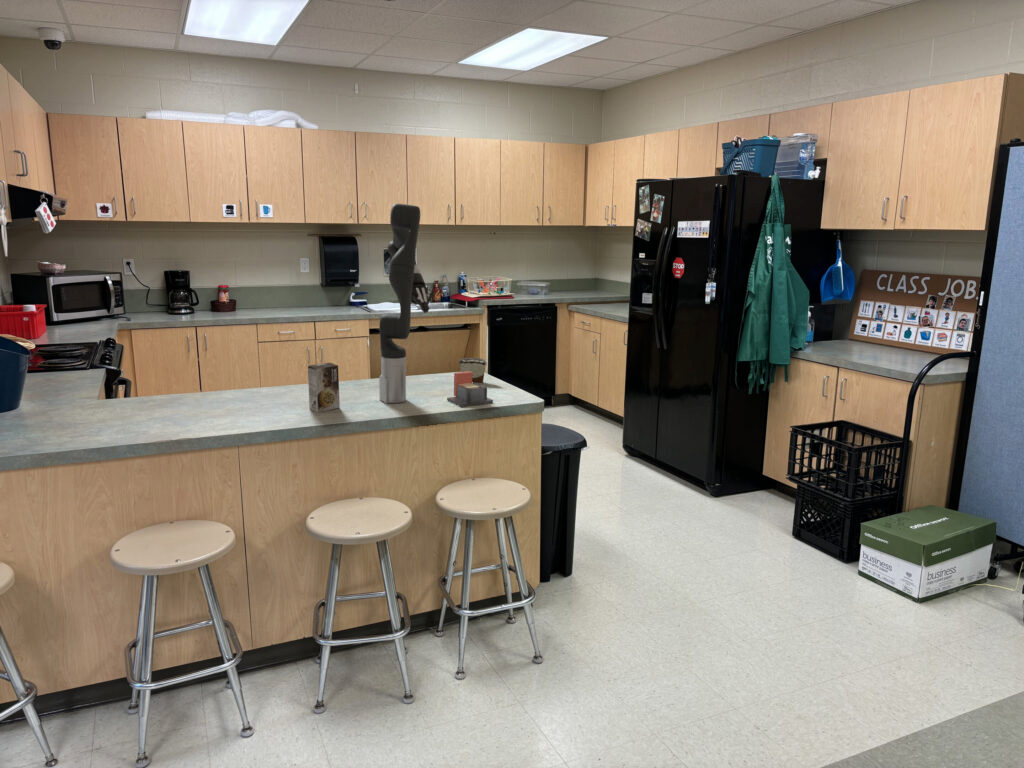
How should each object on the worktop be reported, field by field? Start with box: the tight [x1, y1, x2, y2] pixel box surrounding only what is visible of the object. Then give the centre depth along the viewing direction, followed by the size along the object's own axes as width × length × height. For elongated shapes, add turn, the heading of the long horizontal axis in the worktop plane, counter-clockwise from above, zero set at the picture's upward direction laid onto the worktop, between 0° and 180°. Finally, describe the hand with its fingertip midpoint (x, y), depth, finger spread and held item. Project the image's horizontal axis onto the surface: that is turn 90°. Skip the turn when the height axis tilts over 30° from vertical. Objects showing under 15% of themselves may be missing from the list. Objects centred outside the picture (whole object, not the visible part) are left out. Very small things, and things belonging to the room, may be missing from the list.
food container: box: [457, 357, 488, 384], centre depth 306 cm, size 12×6×10 cm, turn 84°
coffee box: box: [307, 362, 341, 413], centre depth 256 cm, size 9×6×16 cm
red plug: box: [453, 371, 479, 397], centre depth 274 cm, size 7×9×9 cm
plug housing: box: [446, 383, 494, 408], centre depth 273 cm, size 14×11×6 cm
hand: (426, 311), depth 285 cm, fingers closed
